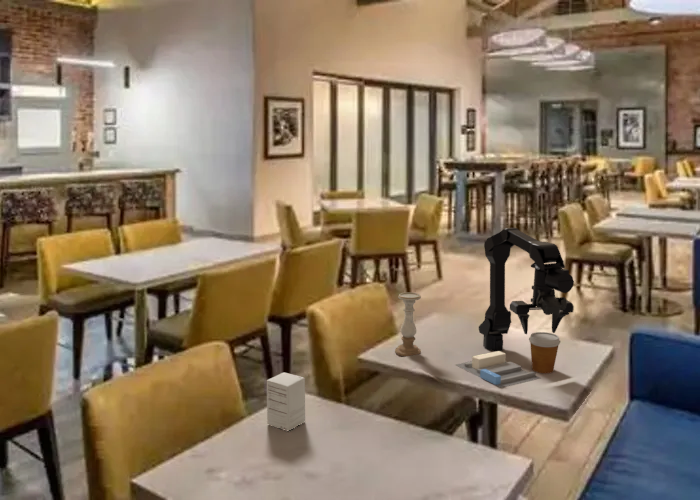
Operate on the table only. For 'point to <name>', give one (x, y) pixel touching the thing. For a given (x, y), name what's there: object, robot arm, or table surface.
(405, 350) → the candle holder
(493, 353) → the cream rectangular block
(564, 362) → the table surface
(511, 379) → the duct tray
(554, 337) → the disposable coffee cup
